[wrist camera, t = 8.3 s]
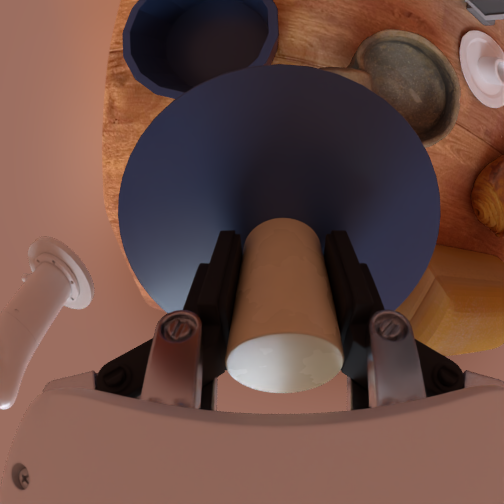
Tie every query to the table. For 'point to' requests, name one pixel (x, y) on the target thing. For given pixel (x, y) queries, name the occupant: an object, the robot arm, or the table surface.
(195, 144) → the lid
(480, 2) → the footed urn box
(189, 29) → the pot
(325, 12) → the table surface
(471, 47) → the candle holder
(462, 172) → the table surface
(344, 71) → the bowl
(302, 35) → the table surface
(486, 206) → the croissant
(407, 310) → the bread
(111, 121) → the table surface
